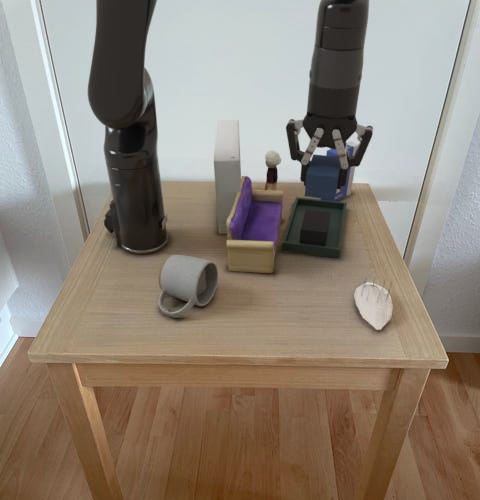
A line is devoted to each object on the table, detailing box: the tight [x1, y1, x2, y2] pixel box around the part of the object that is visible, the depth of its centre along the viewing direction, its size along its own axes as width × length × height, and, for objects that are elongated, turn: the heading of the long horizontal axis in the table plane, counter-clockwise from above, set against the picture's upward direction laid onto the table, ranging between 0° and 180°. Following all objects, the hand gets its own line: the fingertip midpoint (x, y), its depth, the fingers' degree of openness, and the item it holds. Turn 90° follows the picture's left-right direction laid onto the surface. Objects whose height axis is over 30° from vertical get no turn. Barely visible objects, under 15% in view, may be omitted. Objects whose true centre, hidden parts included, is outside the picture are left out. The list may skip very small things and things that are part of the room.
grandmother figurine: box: [263, 149, 282, 191], centre depth 106 cm, size 8×4×13 cm, turn 178°
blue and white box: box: [320, 140, 359, 202], centre depth 109 cm, size 8×3×12 cm, turn 133°
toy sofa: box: [225, 175, 284, 274], centre depth 95 cm, size 21×9×10 cm, turn 171°
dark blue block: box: [304, 153, 340, 200], centre depth 83 cm, size 8×5×4 cm, turn 166°
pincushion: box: [353, 277, 394, 331], centre depth 81 cm, size 12×6×6 cm, turn 178°
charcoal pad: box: [299, 210, 330, 246], centre depth 98 cm, size 8×5×4 cm, turn 167°
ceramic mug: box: [157, 254, 219, 319], centre depth 82 cm, size 11×8×8 cm
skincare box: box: [213, 119, 242, 235], centre depth 104 cm, size 21×6×16 cm, turn 0°
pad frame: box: [281, 196, 348, 259], centre depth 102 cm, size 19×11×2 cm, turn 167°
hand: (322, 185), depth 84 cm, fingers closed on dark blue block, 5 cm apart
